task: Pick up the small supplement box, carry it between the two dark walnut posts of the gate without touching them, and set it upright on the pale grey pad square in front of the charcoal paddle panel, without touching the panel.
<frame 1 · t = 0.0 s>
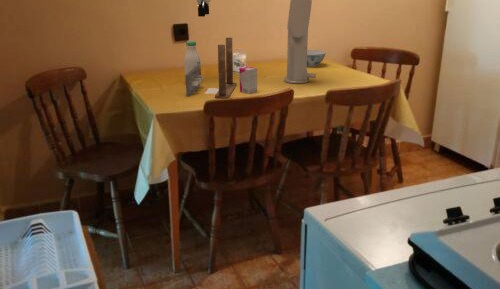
hand: (203, 15, 215), 31 cm above the table, fingers open, 9 cm apart
supplement box: (248, 93, 201), on the table
milk bottle: (193, 83, 220), on the table
panel: (193, 92, 204), on the table
gate: (226, 91, 202), point 1 cm above the table, touching pad
pad: (217, 92, 203), on the table
chinaware: (311, 66, 255), on the table
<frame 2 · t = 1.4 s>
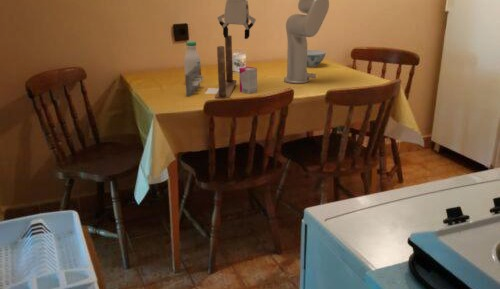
hand: (236, 37, 197), 24 cm above the table, fingers open, 9 cm apart
gate: (226, 90, 202), point 1 cm above the table, touching gripper, pad
everything else where it was.
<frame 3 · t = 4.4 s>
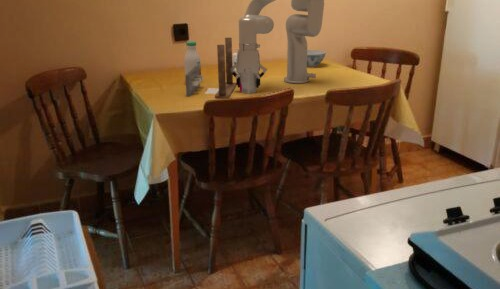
hand: (248, 86, 200), 3 cm above the table, fingers closed on supplement box, 7 cm apart
supplement box: (248, 93, 201), on the table, touching gripper
gate: (226, 91, 202), point 1 cm above the table, touching pad
everything else where it was.
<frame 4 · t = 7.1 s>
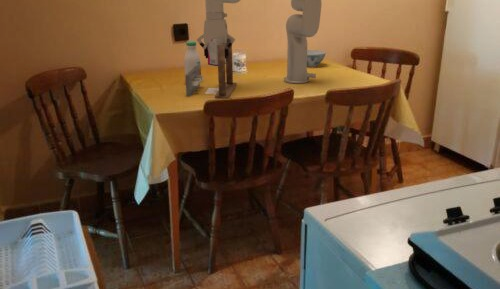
hand: (216, 57, 197), 16 cm above the table, fingers closed on supplement box, 7 cm apart
supplement box: (216, 64, 198), point 13 cm above the table, touching gripper
everything else where it was.
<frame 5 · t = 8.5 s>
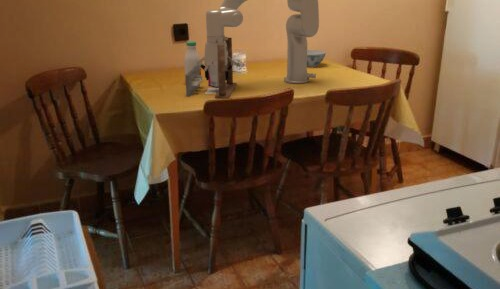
hand: (217, 79, 200), 6 cm above the table, fingers closed on supplement box, 7 cm apart
supplement box: (217, 86, 201), point 3 cm above the table, touching gripper
everything else where it was.
when the fingers open (5 cm above the table, at t = 9.7 s): supplement box stays where it is, resting on gate.
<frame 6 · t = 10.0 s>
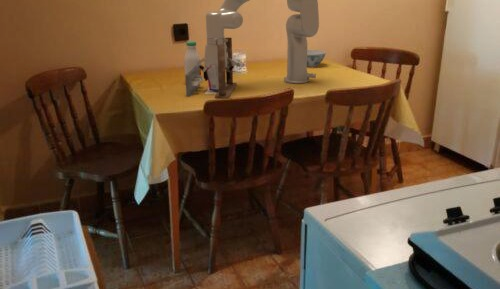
hand: (217, 80, 201), 6 cm above the table, fingers open, 9 cm apart
supplement box: (218, 89, 202), point 2 cm above the table, touching gate, gripper
gate: (226, 91, 202), point 1 cm above the table, touching pad, supplement box
everything else where it was.
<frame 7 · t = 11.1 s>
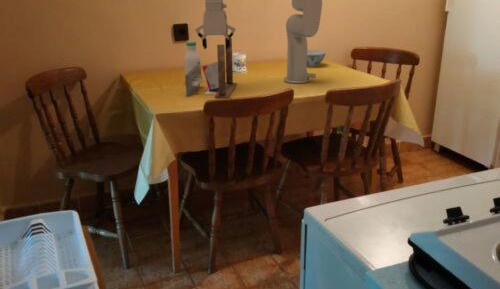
hand: (216, 48, 195), 20 cm above the table, fingers open, 9 cm apart
supplement box: (217, 89, 202), point 2 cm above the table, touching pad
gate: (226, 91, 202), point 1 cm above the table, touching pad
everything else where it was.
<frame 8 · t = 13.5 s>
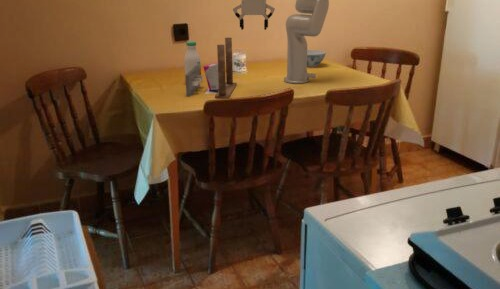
hand: (253, 29, 188), 28 cm above the table, fingers open, 9 cm apart
supplement box: (218, 89, 202), point 1 cm above the table, touching gate, pad
gate: (226, 91, 202), point 1 cm above the table, touching pad, supplement box
everything else where it was.
at the end: supplement box inside the target area (0.2 cm from its centre), point 1.4 cm above the table; supplement box tilted 12°; gate moved 0.8 cm from its start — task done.
